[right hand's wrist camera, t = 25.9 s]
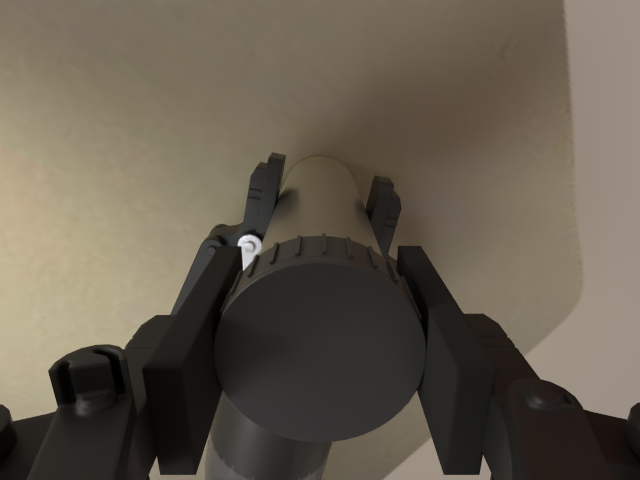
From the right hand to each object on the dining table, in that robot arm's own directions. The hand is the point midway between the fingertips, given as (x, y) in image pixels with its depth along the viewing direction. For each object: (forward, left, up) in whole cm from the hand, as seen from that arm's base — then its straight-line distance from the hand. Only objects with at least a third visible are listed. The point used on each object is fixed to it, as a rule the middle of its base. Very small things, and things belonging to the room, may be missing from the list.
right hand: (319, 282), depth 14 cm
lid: (0, 0, +4) cm, 4 cm away
